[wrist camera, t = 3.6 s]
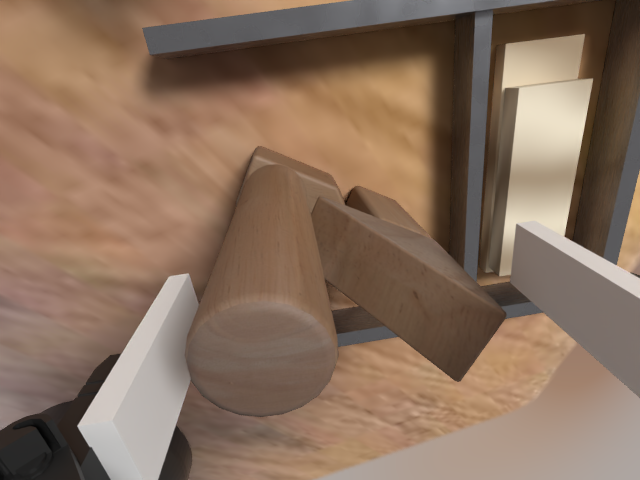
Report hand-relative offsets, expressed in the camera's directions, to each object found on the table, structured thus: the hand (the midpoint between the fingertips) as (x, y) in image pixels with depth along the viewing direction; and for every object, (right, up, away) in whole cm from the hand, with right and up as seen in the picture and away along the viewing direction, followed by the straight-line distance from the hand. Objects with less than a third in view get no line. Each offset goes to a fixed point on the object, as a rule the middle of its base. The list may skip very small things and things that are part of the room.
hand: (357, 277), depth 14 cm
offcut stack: (+13, +7, +12) cm, 19 cm away
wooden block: (-1, +5, +11) cm, 12 cm away
